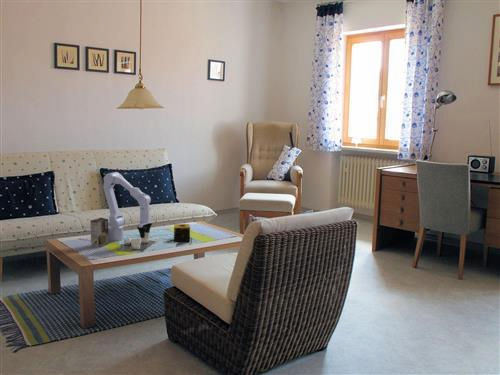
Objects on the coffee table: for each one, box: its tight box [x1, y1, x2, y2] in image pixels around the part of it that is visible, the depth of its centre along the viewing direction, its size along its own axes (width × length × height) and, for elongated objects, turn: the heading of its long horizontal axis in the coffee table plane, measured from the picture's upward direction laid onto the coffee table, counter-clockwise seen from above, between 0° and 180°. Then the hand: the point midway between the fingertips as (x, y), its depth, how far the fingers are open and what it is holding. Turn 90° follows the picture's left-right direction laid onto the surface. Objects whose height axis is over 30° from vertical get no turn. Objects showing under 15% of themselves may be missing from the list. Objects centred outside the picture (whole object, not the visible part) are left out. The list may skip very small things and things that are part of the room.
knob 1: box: [130, 237, 141, 249], centre depth 301 cm, size 6×5×6 cm
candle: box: [173, 223, 191, 243], centre depth 327 cm, size 10×10×10 cm
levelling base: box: [116, 238, 157, 253], centre depth 309 cm, size 16×24×4 cm
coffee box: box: [90, 217, 110, 248], centre depth 311 cm, size 9×6×16 cm
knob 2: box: [140, 232, 150, 243], centre depth 315 cm, size 6×5×6 cm
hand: (144, 236), depth 315 cm, fingers open, 7 cm apart
